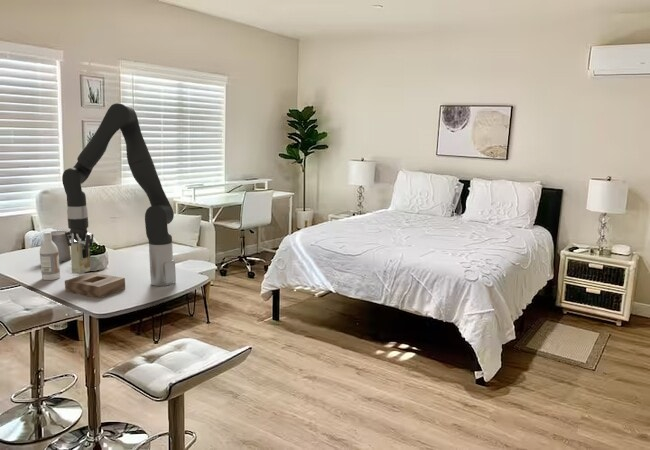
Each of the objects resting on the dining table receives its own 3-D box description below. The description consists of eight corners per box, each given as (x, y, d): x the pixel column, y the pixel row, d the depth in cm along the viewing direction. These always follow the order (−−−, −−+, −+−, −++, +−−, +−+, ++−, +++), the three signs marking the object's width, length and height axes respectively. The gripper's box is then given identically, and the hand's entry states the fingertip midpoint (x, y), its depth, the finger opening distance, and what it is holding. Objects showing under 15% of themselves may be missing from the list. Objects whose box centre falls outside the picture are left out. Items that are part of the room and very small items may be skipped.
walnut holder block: (125, 288, 205) (124, 277, 204) (99, 298, 193) (98, 286, 192) (92, 283, 212) (91, 272, 211) (65, 291, 200) (64, 280, 199)
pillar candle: (64, 256, 254) (61, 227, 251) (75, 259, 249) (72, 229, 246) (44, 260, 246) (41, 230, 244) (54, 263, 241) (51, 232, 238)
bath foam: (59, 279, 216) (55, 233, 212) (40, 281, 213) (36, 234, 210) (61, 275, 222) (57, 230, 218) (43, 276, 220) (39, 231, 216)
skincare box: (80, 274, 209) (79, 245, 207) (71, 273, 210) (69, 244, 208) (91, 270, 215) (89, 242, 213) (82, 269, 216) (80, 241, 214)
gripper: (98, 216, 209) (100, 257, 212) (72, 213, 214) (75, 253, 218) (82, 219, 202) (85, 261, 205) (57, 216, 208) (60, 257, 211)
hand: (80, 256), depth 211 cm, fingers closed on skincare box, 4 cm apart
